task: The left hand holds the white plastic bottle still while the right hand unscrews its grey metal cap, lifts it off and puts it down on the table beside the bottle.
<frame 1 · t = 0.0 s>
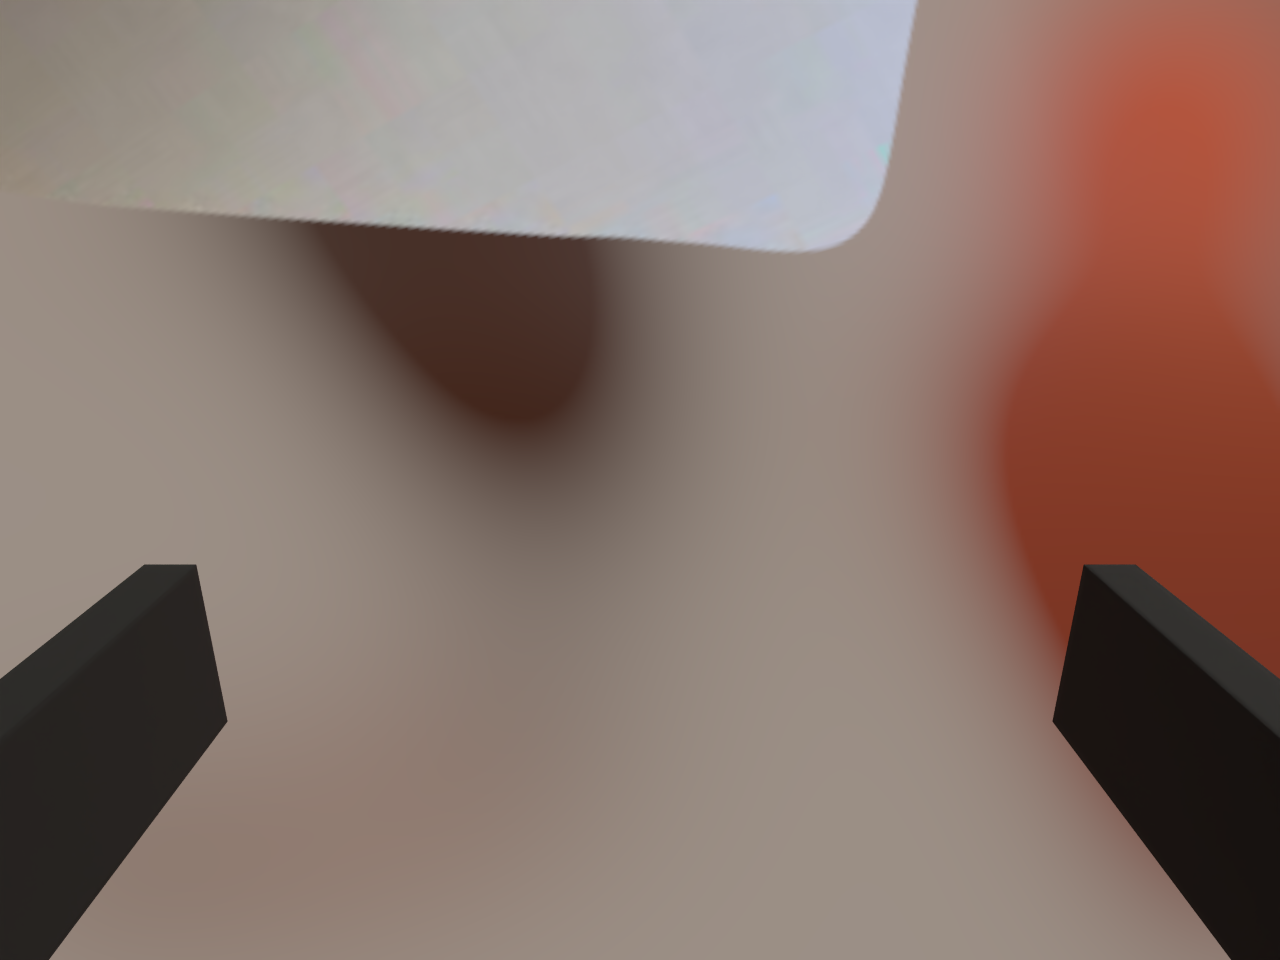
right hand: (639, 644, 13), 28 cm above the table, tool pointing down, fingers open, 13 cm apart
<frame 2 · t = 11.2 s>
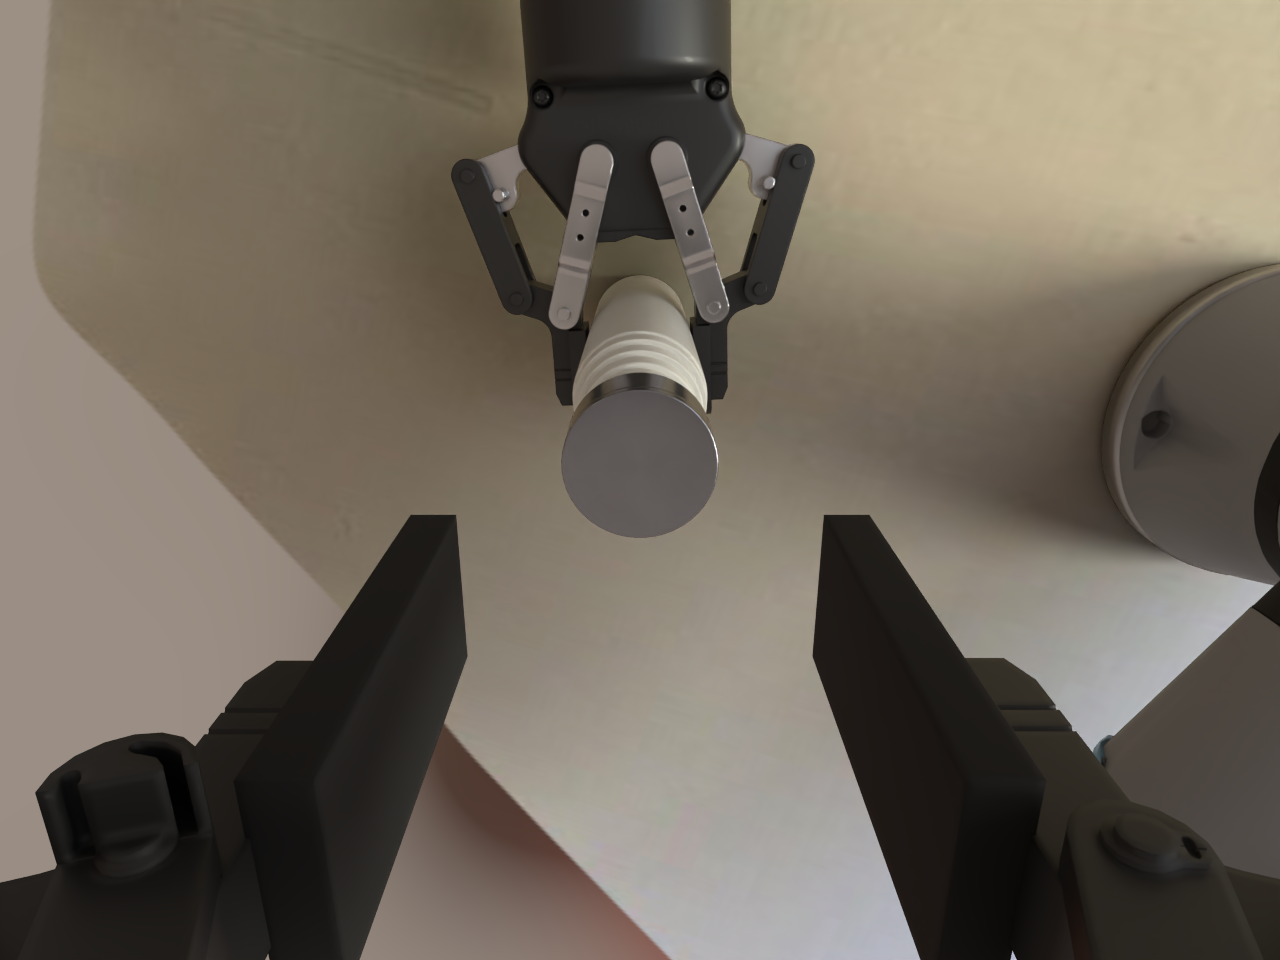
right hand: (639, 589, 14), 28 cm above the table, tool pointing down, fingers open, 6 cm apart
left hand: (643, 409, 35), fingers closed on bottle, 4 cm apart
bottle: (640, 320, 40), on the table, touching left hand
cap: (639, 462, 21), point 21 cm above the table, screwed on, not yet turned
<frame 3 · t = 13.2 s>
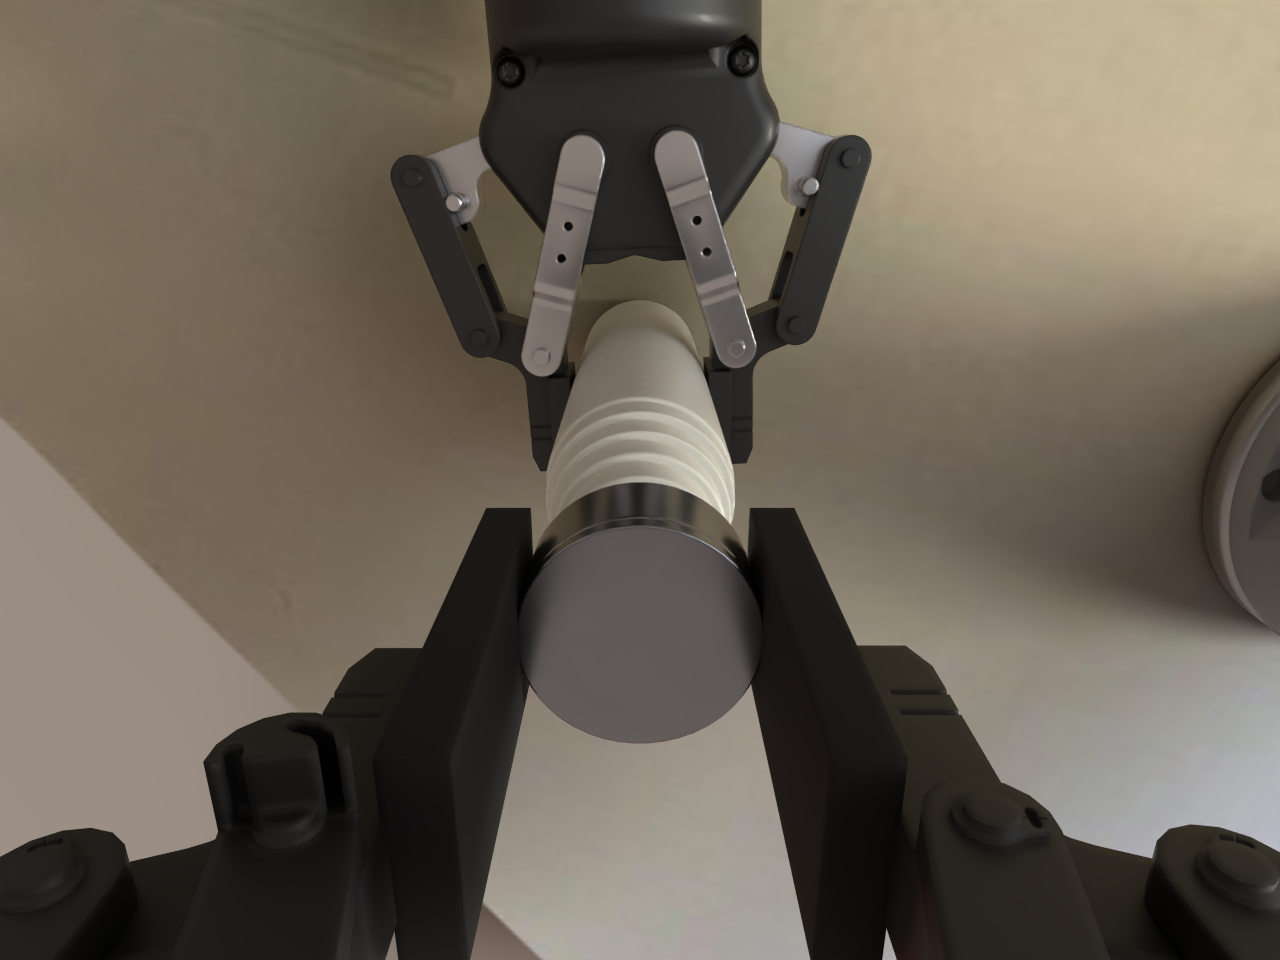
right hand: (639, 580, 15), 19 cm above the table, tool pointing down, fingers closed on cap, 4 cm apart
left hand: (644, 474, 28), fingers closed on bottle, 4 cm apart
bottle: (640, 355, 33), on the table, touching left hand
cap: (640, 630, 13), point 21 cm above the table, screwed on, not yet turned, touching right hand
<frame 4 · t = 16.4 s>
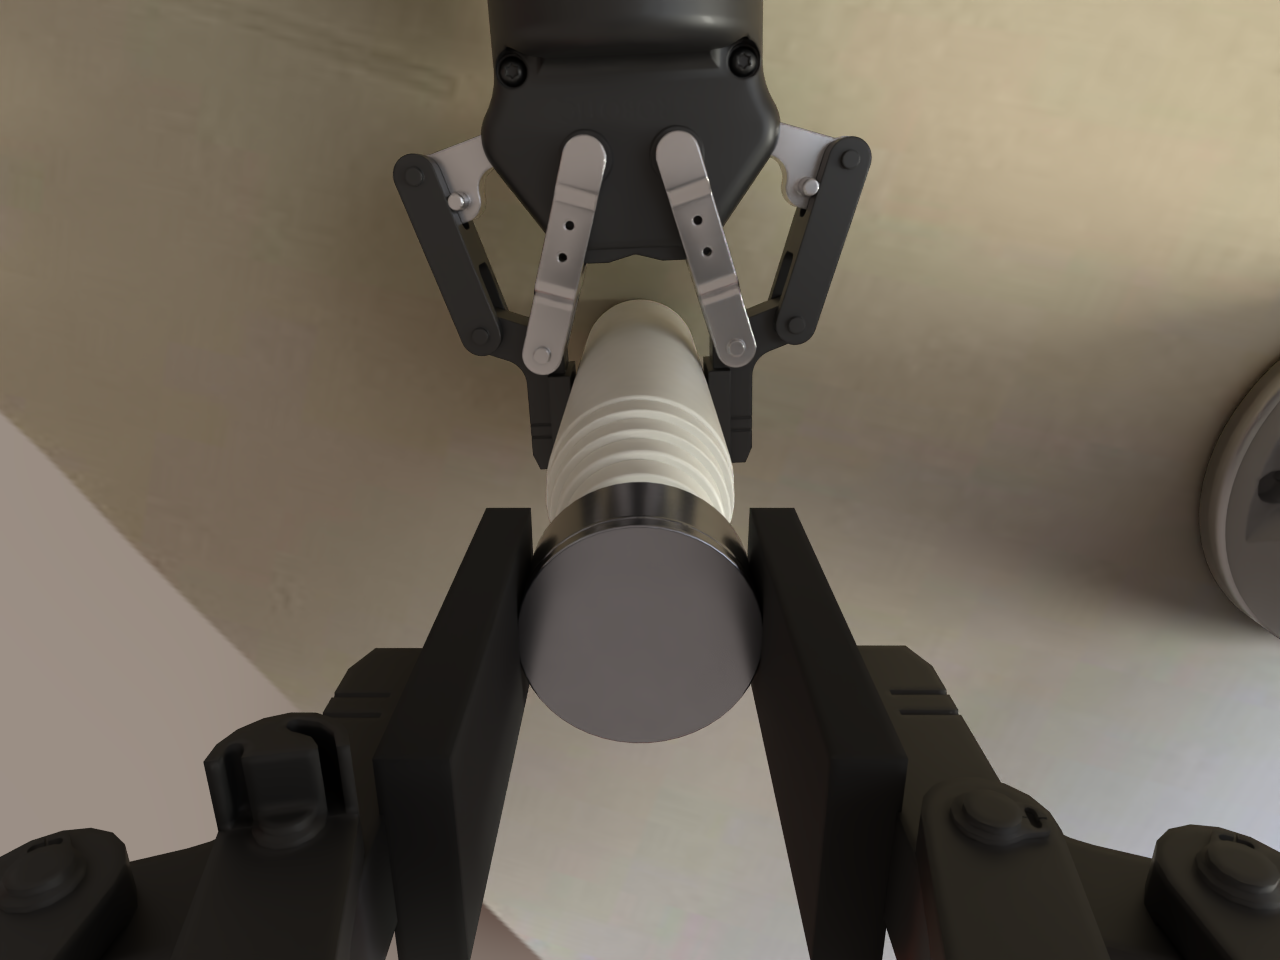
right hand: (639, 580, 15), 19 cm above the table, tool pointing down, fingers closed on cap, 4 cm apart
left hand: (644, 473, 28), fingers closed on bottle, 4 cm apart
bottle: (640, 354, 33), on the table, touching left hand
cap: (640, 630, 13), point 21 cm above the table, turned 113° so far, risen 0.1 cm, still on its thread, touching right hand
when the right hand's fingers open (1 cm above the table, at t = 30.3 s): cap stays where it is, point 2 cm above the table.
when the left hand's fingers open (6 cm above the table, at t = 31.5 s): bottle stays where it is, on the table.
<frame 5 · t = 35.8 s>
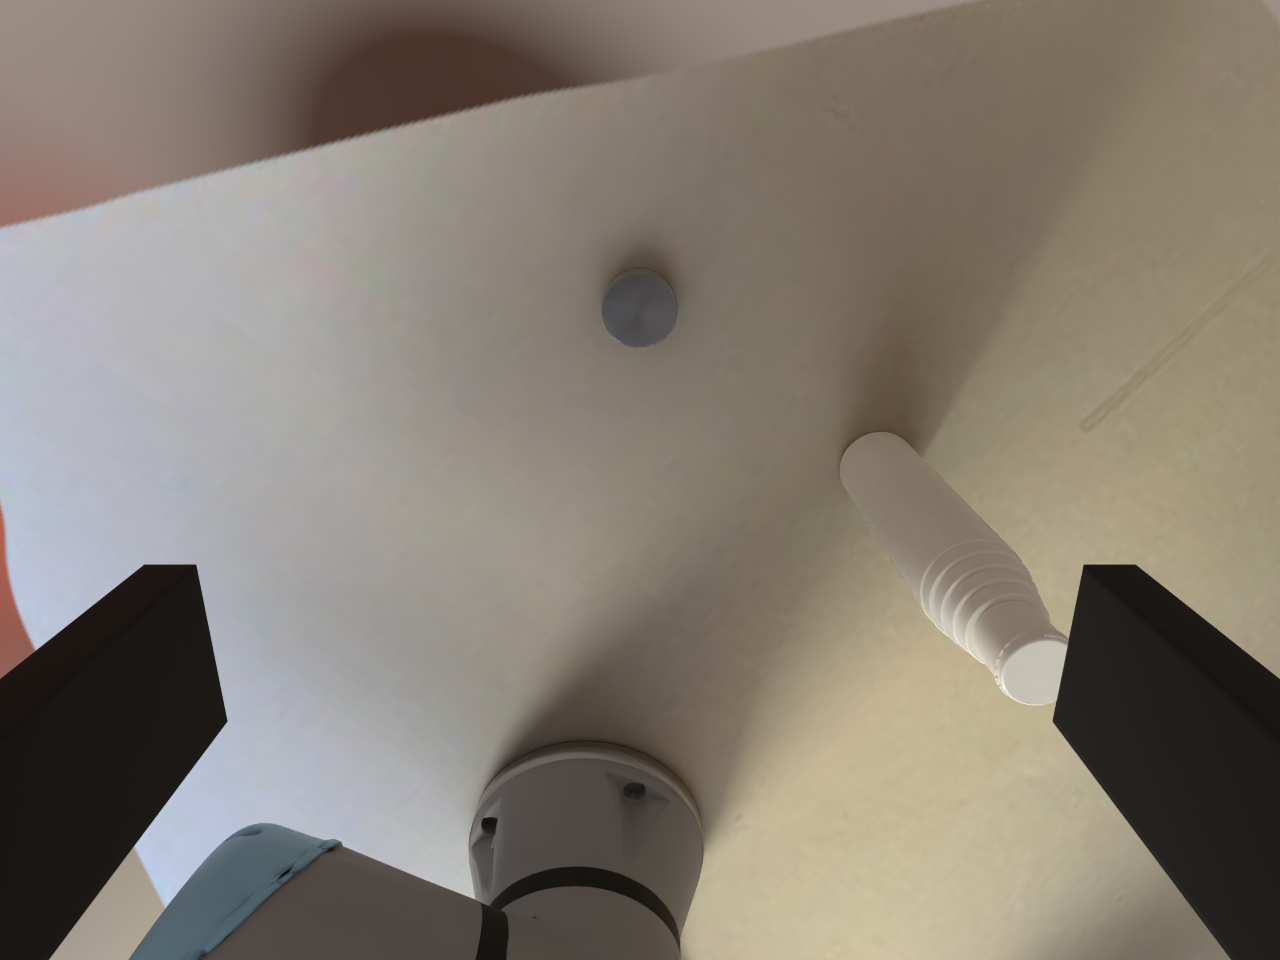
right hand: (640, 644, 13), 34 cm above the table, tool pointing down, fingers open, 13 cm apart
bottle: (876, 467, 48), on the table
cap: (639, 309, 43), point 2 cm above the table, off its thread
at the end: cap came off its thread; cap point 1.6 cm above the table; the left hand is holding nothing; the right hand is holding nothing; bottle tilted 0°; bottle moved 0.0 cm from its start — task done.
